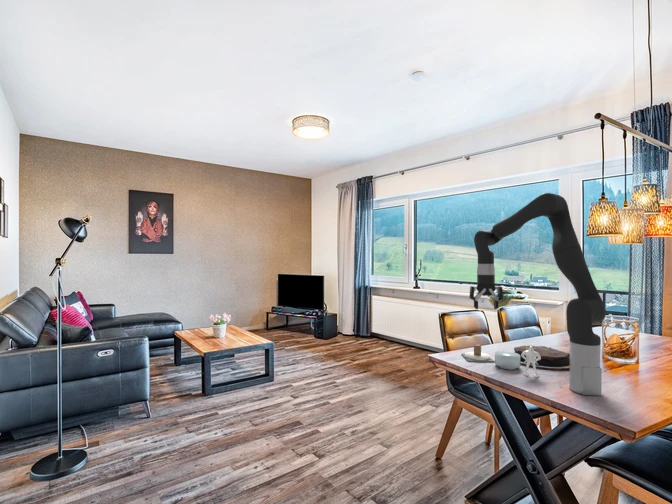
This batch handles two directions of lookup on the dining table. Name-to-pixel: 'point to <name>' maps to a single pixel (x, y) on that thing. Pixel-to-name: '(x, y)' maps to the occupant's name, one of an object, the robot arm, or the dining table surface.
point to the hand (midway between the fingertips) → (486, 309)
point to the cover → (477, 354)
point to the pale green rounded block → (507, 360)
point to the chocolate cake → (546, 358)
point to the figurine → (531, 360)
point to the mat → (476, 360)
